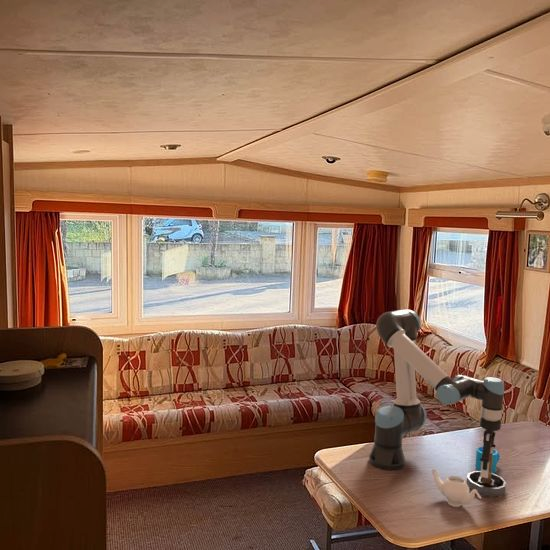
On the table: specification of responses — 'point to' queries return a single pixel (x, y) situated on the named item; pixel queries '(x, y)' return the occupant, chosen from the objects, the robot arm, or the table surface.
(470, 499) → the teapot
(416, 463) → the table surface
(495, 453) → the mug
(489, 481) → the square wooden stick
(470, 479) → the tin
